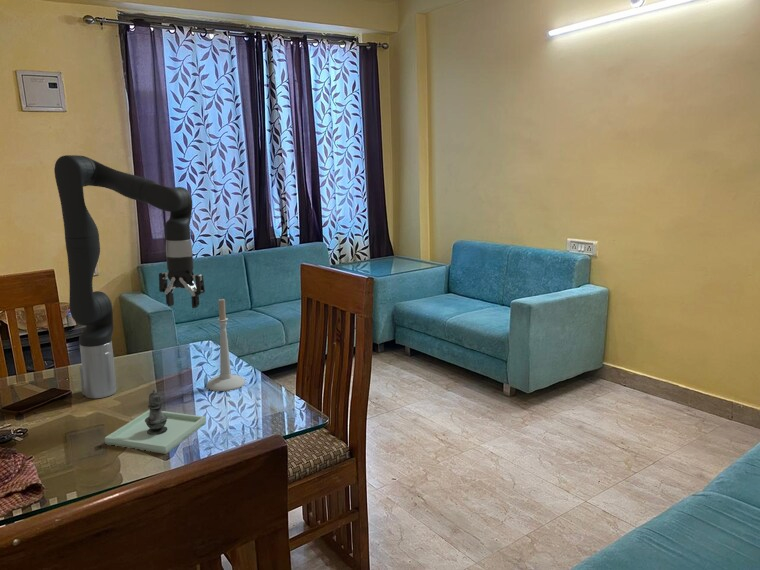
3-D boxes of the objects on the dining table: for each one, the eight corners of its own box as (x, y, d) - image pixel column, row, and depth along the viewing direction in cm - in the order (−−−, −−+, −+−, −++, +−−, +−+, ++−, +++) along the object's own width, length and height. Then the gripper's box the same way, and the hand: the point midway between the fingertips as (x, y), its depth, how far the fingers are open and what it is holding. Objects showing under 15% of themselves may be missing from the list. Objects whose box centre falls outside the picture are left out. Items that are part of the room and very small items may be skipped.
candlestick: (252, 380, 197) (249, 295, 191) (231, 393, 185) (227, 304, 179) (221, 375, 201) (216, 292, 195) (198, 388, 189) (192, 300, 183)
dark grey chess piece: (160, 436, 154) (157, 394, 151) (141, 434, 155) (137, 393, 153) (172, 427, 159) (169, 386, 157) (154, 425, 161) (150, 385, 158)
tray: (105, 444, 151) (104, 437, 151) (150, 415, 169) (149, 409, 168) (166, 453, 146) (165, 446, 146) (206, 423, 164) (205, 416, 163)
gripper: (151, 255, 170) (155, 308, 173) (193, 257, 166) (196, 311, 170) (166, 251, 177) (170, 302, 180) (207, 253, 173) (210, 305, 177)
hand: (183, 306), depth 175 cm, fingers open, 8 cm apart
